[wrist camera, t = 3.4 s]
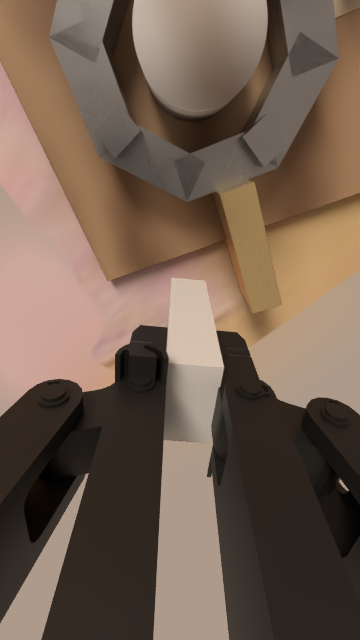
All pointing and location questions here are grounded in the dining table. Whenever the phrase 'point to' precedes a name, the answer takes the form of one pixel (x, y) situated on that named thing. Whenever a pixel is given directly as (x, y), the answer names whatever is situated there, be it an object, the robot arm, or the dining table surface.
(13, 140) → the dining table surface
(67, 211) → the dining table surface
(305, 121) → the mount plate
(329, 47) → the ring nut
